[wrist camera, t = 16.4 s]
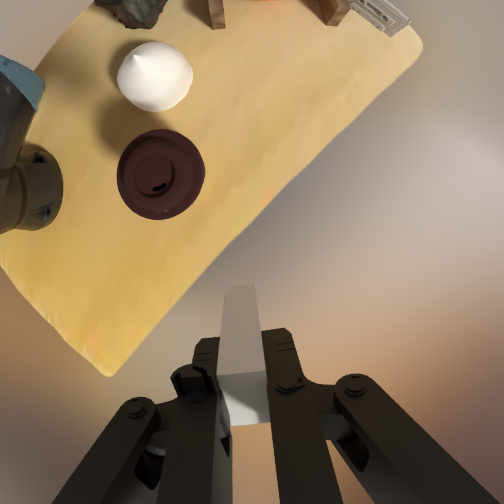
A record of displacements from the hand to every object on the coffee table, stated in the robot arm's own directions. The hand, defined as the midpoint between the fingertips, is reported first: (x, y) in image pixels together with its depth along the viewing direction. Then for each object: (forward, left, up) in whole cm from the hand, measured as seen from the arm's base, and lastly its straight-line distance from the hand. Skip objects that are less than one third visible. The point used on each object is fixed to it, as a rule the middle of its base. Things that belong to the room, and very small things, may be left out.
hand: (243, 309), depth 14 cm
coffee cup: (-8, +8, -30) cm, 32 cm away
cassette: (+27, +36, -30) cm, 54 cm away
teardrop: (-10, +24, -30) cm, 39 cm away
